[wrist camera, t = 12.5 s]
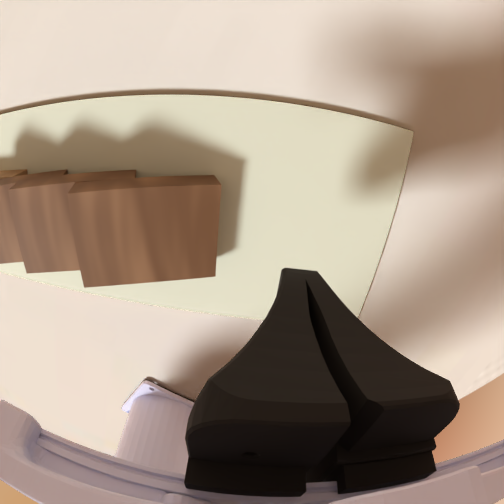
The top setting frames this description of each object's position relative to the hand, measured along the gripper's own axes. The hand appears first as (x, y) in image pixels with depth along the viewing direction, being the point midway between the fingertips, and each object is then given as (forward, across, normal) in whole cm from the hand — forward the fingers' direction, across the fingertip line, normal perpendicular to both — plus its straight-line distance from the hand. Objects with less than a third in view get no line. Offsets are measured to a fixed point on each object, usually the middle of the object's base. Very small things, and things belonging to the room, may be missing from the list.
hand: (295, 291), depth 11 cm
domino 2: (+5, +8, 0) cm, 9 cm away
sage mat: (+6, +9, 0) cm, 11 cm away
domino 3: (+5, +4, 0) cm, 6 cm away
